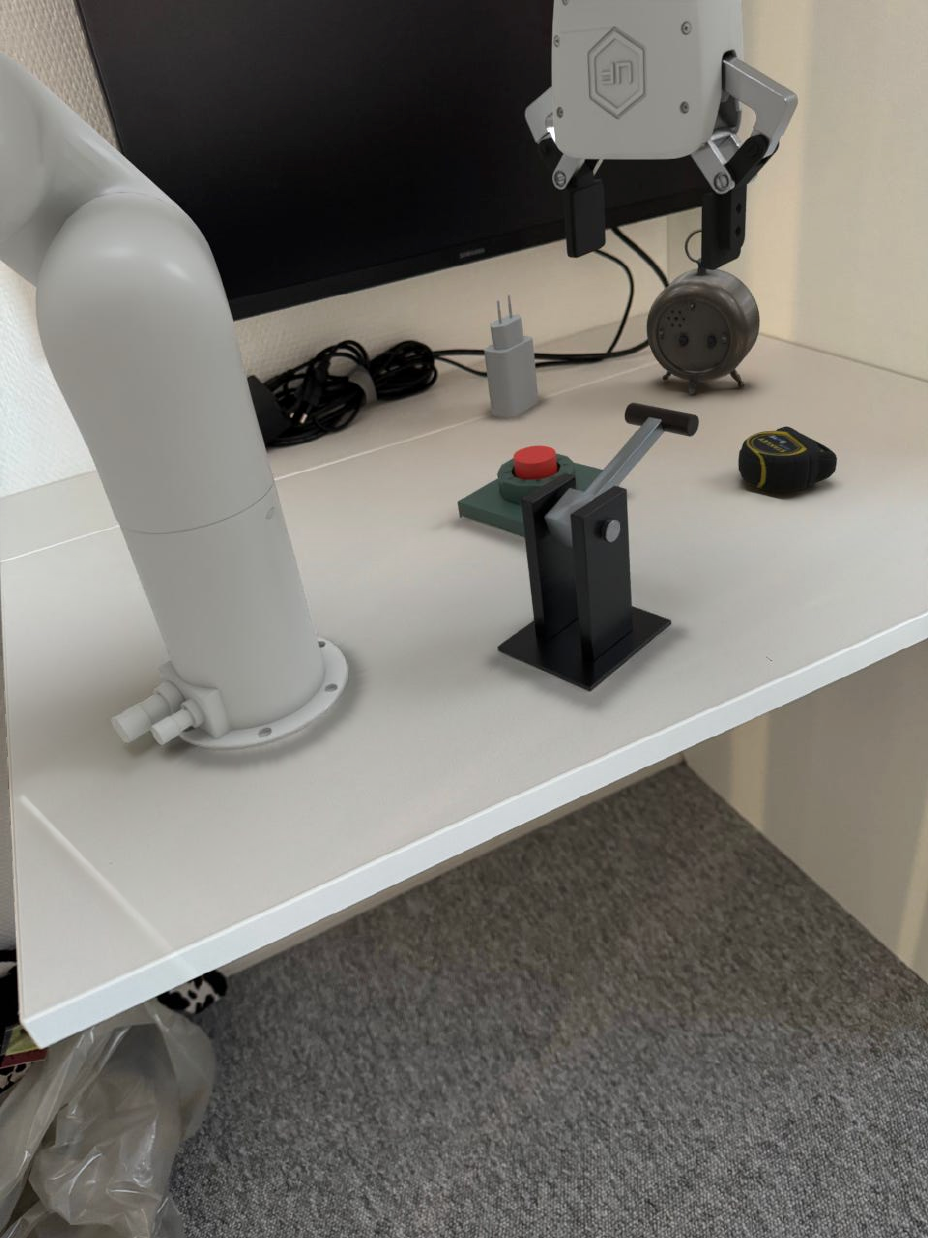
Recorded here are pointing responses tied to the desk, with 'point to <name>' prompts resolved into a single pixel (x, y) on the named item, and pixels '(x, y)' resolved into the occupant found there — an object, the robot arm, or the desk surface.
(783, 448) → the tape measure
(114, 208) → the robot arm
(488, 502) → the green switch base
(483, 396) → the desk surface
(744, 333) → the alarm clock
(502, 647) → the bracket
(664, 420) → the lever
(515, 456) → the button
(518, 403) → the power adapter
